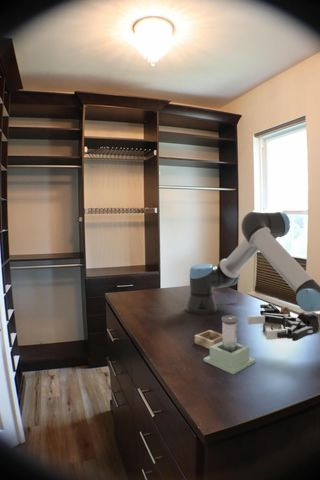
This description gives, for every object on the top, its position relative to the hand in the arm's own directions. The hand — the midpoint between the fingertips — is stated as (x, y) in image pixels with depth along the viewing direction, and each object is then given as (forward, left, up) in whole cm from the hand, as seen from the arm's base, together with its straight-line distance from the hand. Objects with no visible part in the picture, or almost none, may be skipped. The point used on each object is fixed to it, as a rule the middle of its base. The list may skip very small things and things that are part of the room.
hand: (256, 327), depth 108 cm
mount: (-19, -2, -11) cm, 22 cm away
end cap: (-18, +39, -11) cm, 44 cm away
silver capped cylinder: (-5, -9, -11) cm, 15 cm away
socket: (-5, -9, -11) cm, 15 cm away
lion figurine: (-10, +31, -11) cm, 34 cm away
